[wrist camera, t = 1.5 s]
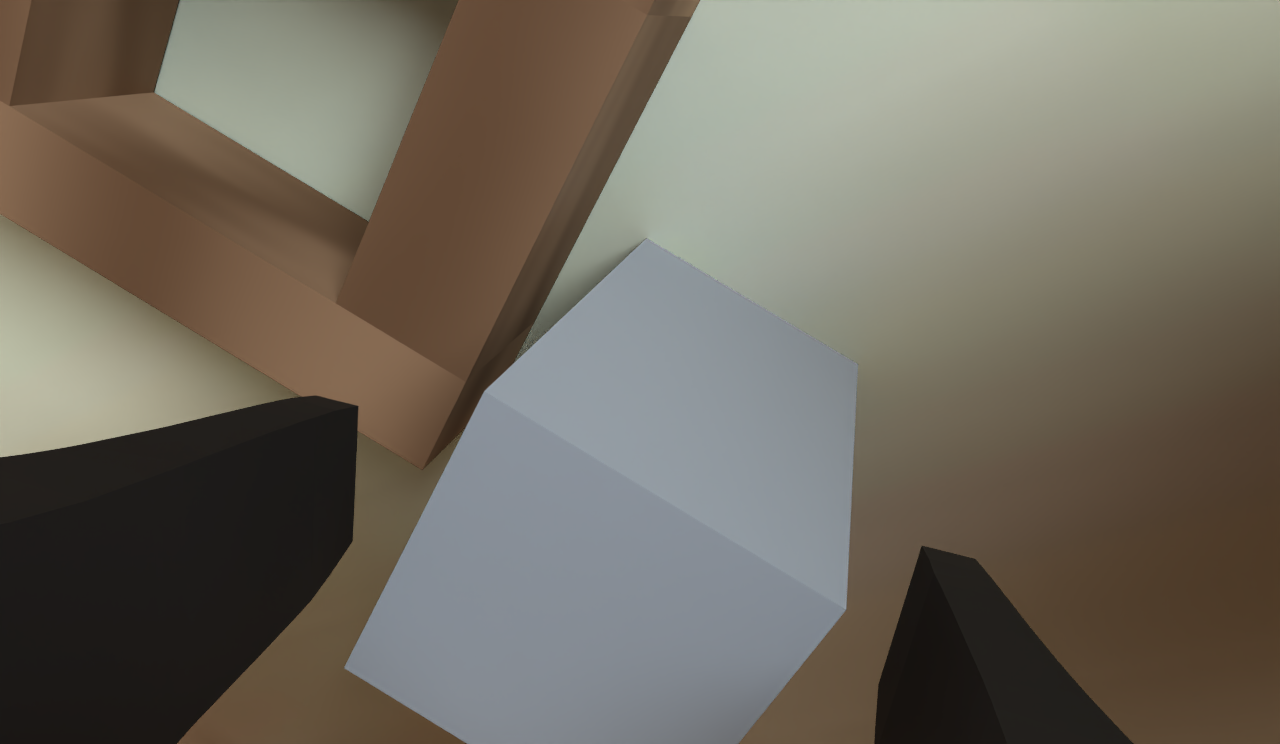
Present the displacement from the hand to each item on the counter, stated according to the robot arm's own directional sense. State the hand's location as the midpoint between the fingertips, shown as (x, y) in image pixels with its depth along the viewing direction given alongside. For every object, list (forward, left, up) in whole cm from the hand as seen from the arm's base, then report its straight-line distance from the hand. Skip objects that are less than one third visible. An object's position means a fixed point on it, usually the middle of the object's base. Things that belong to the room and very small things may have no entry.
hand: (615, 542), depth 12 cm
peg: (0, 0, -5) cm, 5 cm away
